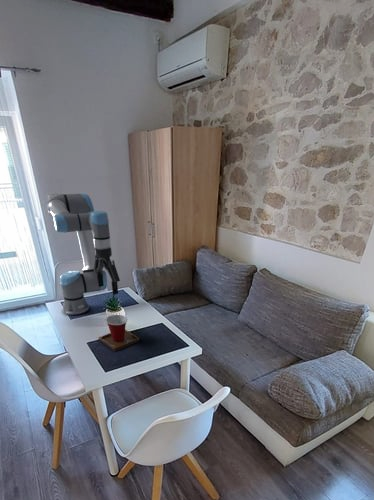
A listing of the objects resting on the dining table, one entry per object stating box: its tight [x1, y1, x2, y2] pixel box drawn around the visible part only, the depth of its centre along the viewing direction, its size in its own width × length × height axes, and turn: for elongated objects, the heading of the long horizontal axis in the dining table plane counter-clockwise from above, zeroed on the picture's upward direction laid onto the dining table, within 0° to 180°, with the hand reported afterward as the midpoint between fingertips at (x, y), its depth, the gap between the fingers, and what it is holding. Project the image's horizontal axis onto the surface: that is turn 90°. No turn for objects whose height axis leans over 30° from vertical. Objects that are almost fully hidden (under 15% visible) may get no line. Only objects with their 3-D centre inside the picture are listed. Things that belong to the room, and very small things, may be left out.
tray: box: [98, 329, 140, 352], centre depth 163 cm, size 15×15×2 cm
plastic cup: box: [105, 314, 128, 342], centre depth 160 cm, size 11×11×12 cm
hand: (108, 290), depth 160 cm, fingers open, 13 cm apart
